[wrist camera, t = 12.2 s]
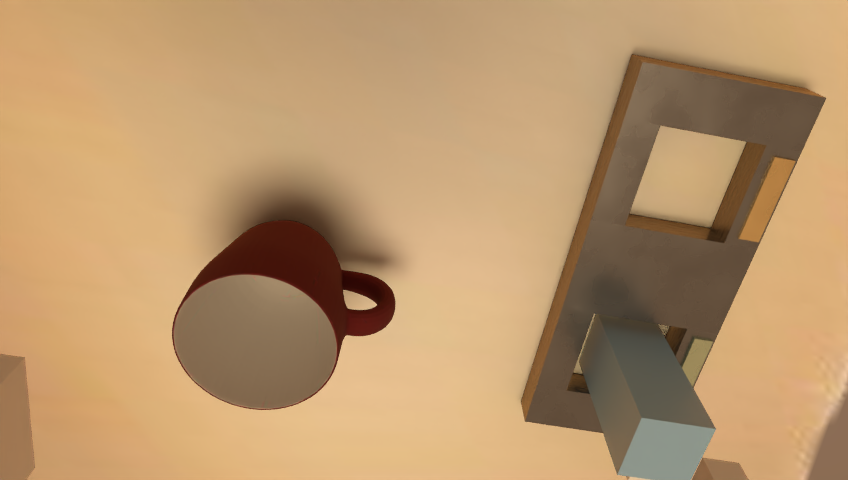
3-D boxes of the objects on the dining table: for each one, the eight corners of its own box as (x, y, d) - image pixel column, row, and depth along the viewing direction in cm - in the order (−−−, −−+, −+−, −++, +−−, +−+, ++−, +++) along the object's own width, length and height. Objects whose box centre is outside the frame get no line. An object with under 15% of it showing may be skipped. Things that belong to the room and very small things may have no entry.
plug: (596, 311, 43) (641, 417, 34) (655, 321, 43) (715, 428, 34) (575, 371, 45) (612, 485, 36) (632, 380, 46) (683, 495, 37)
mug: (398, 191, 39) (390, 274, 30) (398, 307, 43) (391, 412, 34) (219, 188, 39) (158, 270, 30) (234, 305, 43) (183, 409, 34)
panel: (631, 54, 36) (643, 62, 34) (806, 88, 37) (828, 98, 35) (521, 401, 46) (525, 423, 44) (658, 422, 47) (669, 444, 45)
